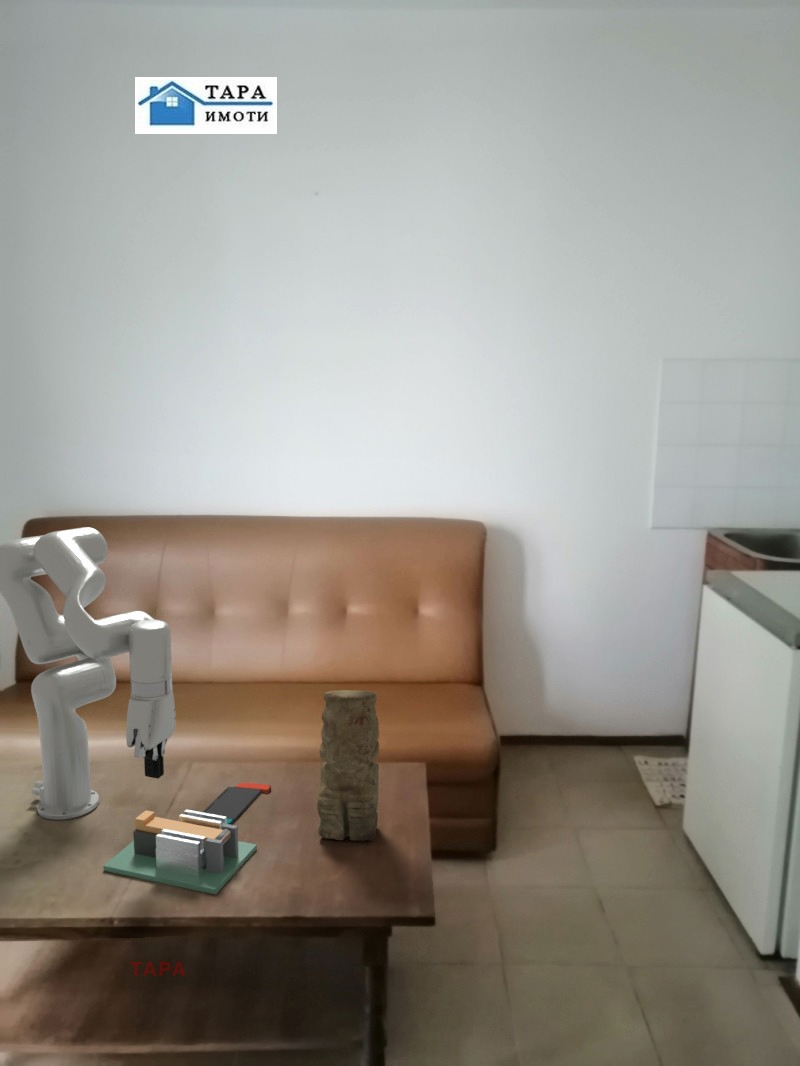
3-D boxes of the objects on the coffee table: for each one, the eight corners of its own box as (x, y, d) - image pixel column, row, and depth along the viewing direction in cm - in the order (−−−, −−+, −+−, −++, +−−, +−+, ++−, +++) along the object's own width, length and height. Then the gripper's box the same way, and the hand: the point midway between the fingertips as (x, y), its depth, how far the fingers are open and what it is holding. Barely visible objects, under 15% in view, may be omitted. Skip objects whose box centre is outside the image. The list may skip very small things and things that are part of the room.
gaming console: (192, 826, 178) (235, 831, 176) (192, 822, 178) (235, 826, 175) (233, 785, 197) (273, 789, 194) (233, 781, 196) (273, 784, 194)
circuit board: (103, 870, 161) (101, 835, 160) (152, 829, 176) (151, 796, 175) (215, 894, 154) (214, 858, 152) (256, 849, 168) (255, 815, 167)
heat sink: (156, 868, 160) (155, 836, 159) (188, 838, 170) (187, 809, 169) (198, 876, 157) (197, 844, 156) (228, 846, 167) (227, 816, 166)
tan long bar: (231, 838, 162) (230, 826, 162) (221, 847, 159) (221, 835, 159) (146, 821, 168) (145, 810, 168) (135, 830, 165) (135, 818, 164)
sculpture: (315, 844, 170) (313, 702, 165) (321, 821, 179) (319, 686, 174) (376, 845, 170) (376, 704, 165) (379, 822, 179) (379, 687, 174)
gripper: (157, 670, 168) (159, 756, 172) (109, 696, 154) (113, 790, 158) (190, 675, 166) (192, 762, 169) (145, 702, 152) (148, 797, 155)
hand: (154, 775), depth 164 cm, fingers closed
